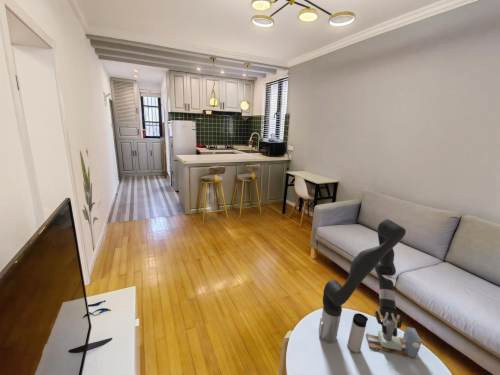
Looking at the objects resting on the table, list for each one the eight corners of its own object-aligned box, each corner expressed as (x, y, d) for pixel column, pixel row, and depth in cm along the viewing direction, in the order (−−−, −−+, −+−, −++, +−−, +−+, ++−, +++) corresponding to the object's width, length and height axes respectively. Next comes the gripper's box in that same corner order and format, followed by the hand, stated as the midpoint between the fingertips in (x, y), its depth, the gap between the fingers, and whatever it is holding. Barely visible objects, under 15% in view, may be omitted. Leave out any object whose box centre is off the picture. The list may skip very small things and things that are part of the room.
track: (369, 348, 123) (370, 345, 123) (365, 335, 131) (366, 332, 130) (416, 359, 119) (417, 355, 118) (409, 345, 126) (410, 341, 126)
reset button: (399, 346, 122) (401, 341, 121) (397, 340, 125) (398, 335, 124) (406, 348, 121) (408, 342, 120) (403, 342, 124) (405, 336, 123)
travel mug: (362, 354, 119) (369, 323, 114) (348, 351, 121) (355, 320, 115) (359, 344, 125) (366, 313, 120) (346, 341, 127) (352, 311, 121)
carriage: (381, 346, 122) (387, 326, 118) (377, 335, 129) (382, 315, 125) (400, 350, 120) (406, 330, 117) (395, 338, 127) (401, 319, 123)
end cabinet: (408, 355, 119) (412, 340, 116) (401, 341, 127) (406, 326, 124) (416, 357, 118) (421, 342, 116) (410, 343, 126) (414, 328, 123)
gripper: (375, 296, 127) (377, 332, 119) (404, 301, 124) (408, 339, 116) (371, 297, 134) (372, 332, 126) (398, 302, 131) (401, 338, 123)
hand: (389, 335), depth 121 cm, fingers closed on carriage, 4 cm apart
